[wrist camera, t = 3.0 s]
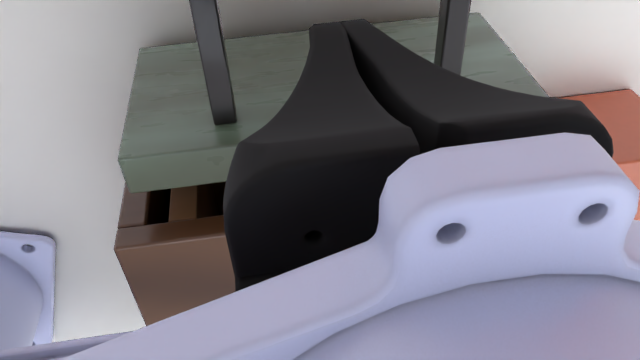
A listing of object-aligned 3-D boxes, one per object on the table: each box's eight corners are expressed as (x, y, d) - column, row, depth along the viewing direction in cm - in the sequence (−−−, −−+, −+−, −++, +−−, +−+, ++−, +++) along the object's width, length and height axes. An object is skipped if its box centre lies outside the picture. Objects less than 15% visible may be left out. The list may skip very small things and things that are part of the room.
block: (525, 100, 23) (578, 169, 20) (631, 88, 23) (700, 153, 20) (509, 170, 26) (553, 242, 22) (604, 158, 26) (662, 226, 23)
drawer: (89, -127, 15) (40, -50, 10) (506, -160, 16) (617, -102, 11) (210, 300, 27) (209, 416, 23) (439, 267, 28) (481, 373, 24)
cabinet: (139, 92, 20) (112, 249, 15) (478, 54, 21) (575, 187, 16) (209, 326, 30) (209, 475, 24) (439, 292, 31) (490, 427, 25)
